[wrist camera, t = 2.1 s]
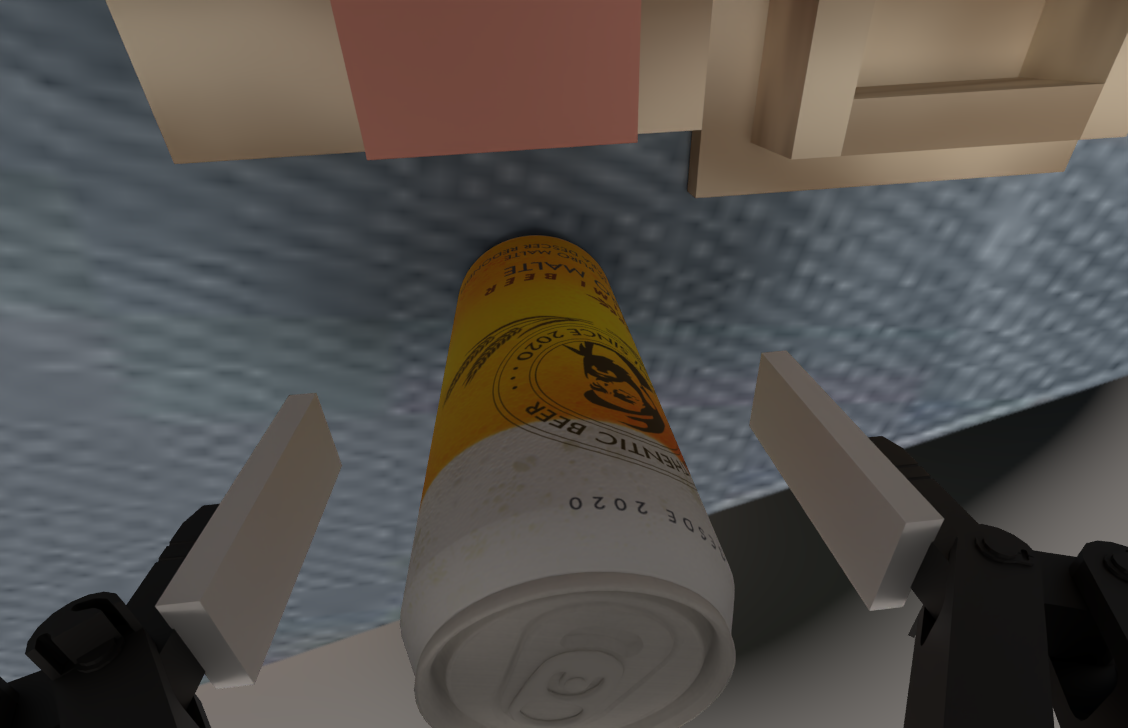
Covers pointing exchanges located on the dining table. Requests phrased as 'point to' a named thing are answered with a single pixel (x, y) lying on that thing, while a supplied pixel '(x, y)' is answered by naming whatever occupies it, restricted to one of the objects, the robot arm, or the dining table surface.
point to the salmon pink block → (490, 74)
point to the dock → (701, 85)
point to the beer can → (559, 519)
